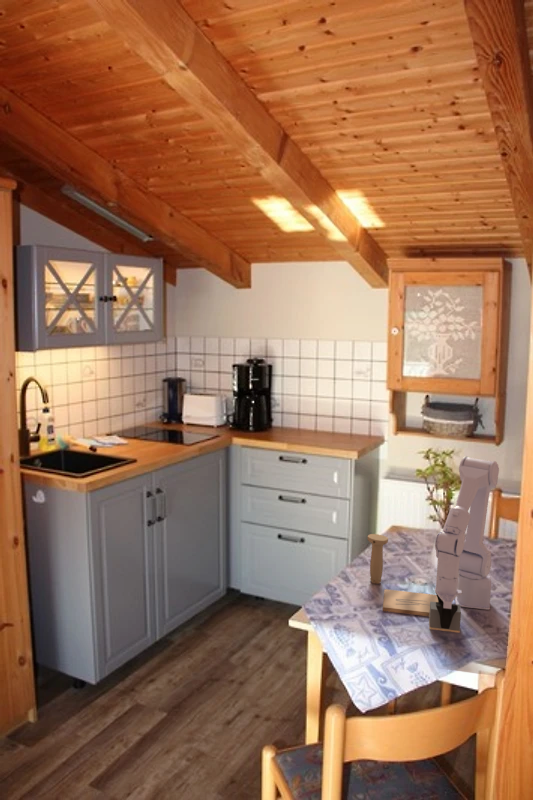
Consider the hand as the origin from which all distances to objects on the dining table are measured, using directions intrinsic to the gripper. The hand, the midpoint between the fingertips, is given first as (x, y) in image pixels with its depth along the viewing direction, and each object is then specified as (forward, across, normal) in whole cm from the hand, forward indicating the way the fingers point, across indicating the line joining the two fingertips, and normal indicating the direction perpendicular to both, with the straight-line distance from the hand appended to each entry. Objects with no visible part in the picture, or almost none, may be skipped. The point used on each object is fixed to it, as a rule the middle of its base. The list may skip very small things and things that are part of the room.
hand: (444, 621), depth 183 cm
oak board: (+2, +11, +9) cm, 14 cm away
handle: (+2, +24, +20) cm, 31 cm away
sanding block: (+2, 0, 0) cm, 2 cm away
